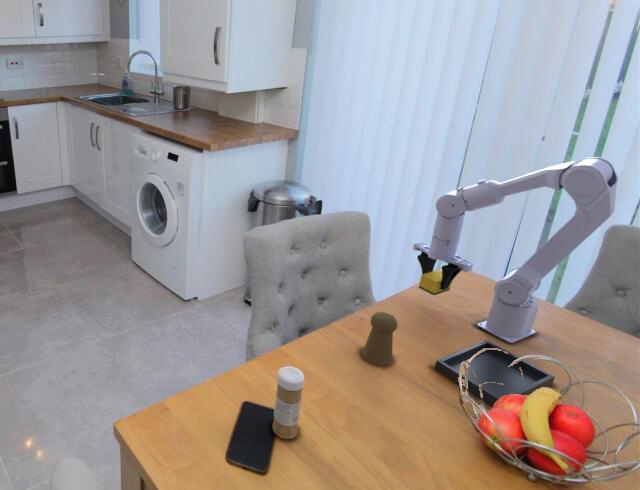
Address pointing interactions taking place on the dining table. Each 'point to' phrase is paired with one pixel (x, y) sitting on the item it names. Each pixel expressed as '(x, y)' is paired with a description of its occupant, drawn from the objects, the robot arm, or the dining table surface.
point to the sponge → (432, 282)
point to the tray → (494, 372)
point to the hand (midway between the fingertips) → (435, 284)
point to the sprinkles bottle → (288, 402)
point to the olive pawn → (380, 339)
